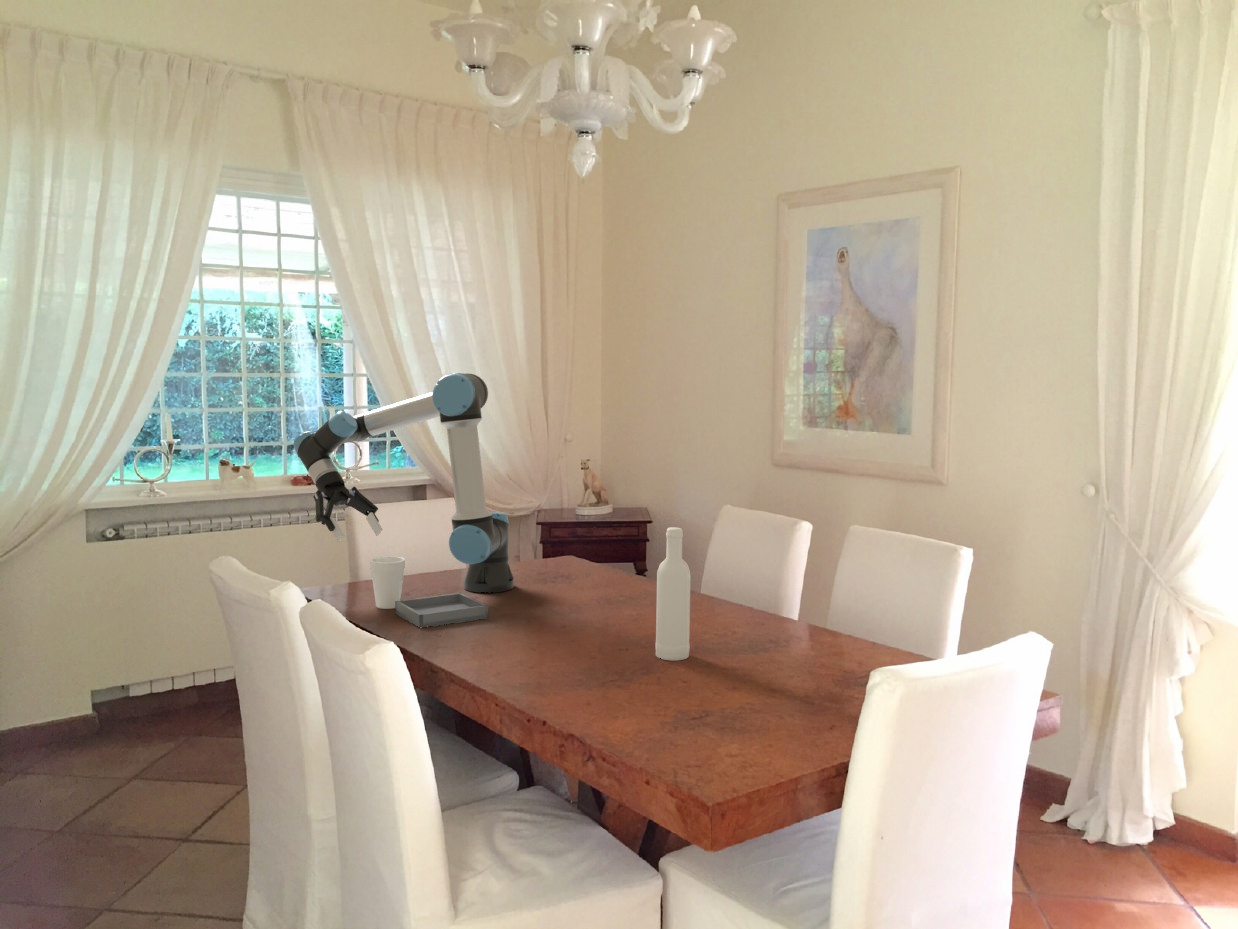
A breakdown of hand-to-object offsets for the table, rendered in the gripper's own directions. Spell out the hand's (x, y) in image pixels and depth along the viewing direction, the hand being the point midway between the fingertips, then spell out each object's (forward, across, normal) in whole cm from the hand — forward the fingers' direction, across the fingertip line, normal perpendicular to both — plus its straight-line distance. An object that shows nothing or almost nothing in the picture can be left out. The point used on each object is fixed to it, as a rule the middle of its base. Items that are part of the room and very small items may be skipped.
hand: (360, 535), depth 270 cm
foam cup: (+21, 0, -5) cm, 22 cm away
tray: (+35, -2, +9) cm, 36 cm away
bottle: (+82, -10, +58) cm, 101 cm away
